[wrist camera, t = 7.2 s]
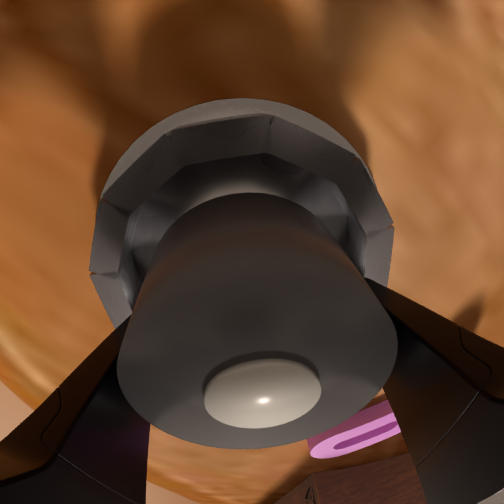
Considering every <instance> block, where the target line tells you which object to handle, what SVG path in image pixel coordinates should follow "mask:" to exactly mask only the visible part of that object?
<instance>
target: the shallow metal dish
mask: <svg viewBox="0 0 504 504" xmlns="http://www.w3.org/2000/svg"><path fill="white" fill-rule="evenodd" d="M245 192H252V193H265V194H271V195H276V196H279V197H282V198H286V199H289V200H291V201H293V202H295V203H297V204H299V205H301V206H303V207H304V208H306V209H307V210H309V211H310V212H312V213H313V214H314V215H315V216H316V217H317V218H318V219H319V220H320V221H321V222H322V223H323V224H324V225H325V227H326V228H327V229H328V230H329V232H330V233H331V234H332V236H333V237H334V238H335V240H336V241H337V242H338V244H339V245H340V246H341V248H342V249H343V250H344V252H345V253H346V255H347V256H348V257H349V259H350V260H351V261H352V263H353V264H354V266H355V267H356V268H357V270H358V271H359V273H360V274H361V276H362V277H363V278H365V277H367V278H369V279H371V280H373V281H375V282H377V283H379V284H381V285H383V286H385V287H387V284H388V277H389V270H390V262H391V254H392V246H393V236H394V227H393V226H392V225H391V224H393V221H392V219H391V217H390V214H389V212H388V210H387V208H386V206H385V204H384V202H383V200H382V198H381V196H380V194H379V193H378V191H377V188H376V185H375V182H374V180H373V178H372V176H371V174H370V171H369V169H368V167H367V166H366V164H365V163H364V161H363V160H362V158H361V157H360V155H359V154H358V152H357V151H356V150H355V149H354V148H353V147H352V145H351V144H350V143H349V142H348V141H347V140H346V139H345V138H344V137H343V136H342V135H341V134H339V133H338V132H337V131H336V130H335V129H333V128H332V127H331V126H330V125H328V124H327V123H325V122H323V121H322V120H320V119H318V118H317V117H315V116H313V115H311V114H310V113H308V112H305V111H303V110H300V109H298V108H295V107H292V106H290V105H287V104H282V103H278V102H274V101H269V100H263V99H249V98H235V99H223V100H215V101H211V102H207V103H203V104H199V105H195V106H192V107H189V108H187V109H184V110H182V111H180V112H177V113H175V114H172V115H171V116H169V117H167V118H166V119H164V120H162V121H161V122H159V123H157V124H156V125H154V126H152V127H151V128H150V129H149V130H148V131H146V132H145V133H144V134H143V135H141V136H140V137H139V138H138V139H137V140H136V141H135V142H134V143H133V144H132V145H131V146H130V147H129V148H128V150H127V151H126V152H125V153H124V154H123V155H122V156H121V158H120V159H119V161H118V162H117V164H116V166H115V167H114V169H113V170H112V172H111V173H110V175H109V178H108V180H107V182H106V184H105V187H104V189H103V191H102V194H101V198H100V202H99V206H98V210H97V217H96V223H95V230H94V236H93V243H92V250H91V258H90V266H89V271H91V274H90V277H91V279H92V282H93V284H94V286H95V288H96V291H97V293H98V295H99V297H100V299H101V301H102V303H103V305H104V308H105V310H106V312H107V314H108V316H109V318H110V320H111V322H112V324H113V326H114V327H115V329H116V328H117V327H118V326H119V325H120V324H121V323H122V322H123V321H124V320H125V319H126V318H128V317H129V316H130V315H131V314H132V312H133V309H134V306H135V303H136V300H137V297H138V295H139V292H140V289H141V286H142V284H143V281H144V278H145V276H146V273H147V271H148V268H149V265H150V263H151V260H152V258H153V255H154V253H155V250H156V248H157V246H158V244H159V242H160V240H161V238H162V237H163V235H164V234H165V233H166V231H167V230H168V229H169V227H170V226H171V225H172V224H173V223H174V222H175V221H176V220H177V219H178V218H179V217H180V216H182V215H183V214H185V213H186V212H187V211H189V210H190V209H192V208H194V207H195V206H197V205H199V204H201V203H203V202H205V201H208V200H211V199H213V198H216V197H220V196H224V195H228V194H234V193H245Z"/></svg>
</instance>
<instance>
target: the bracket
mask: <svg viewBox="0 0 504 504" xmlns="http://www.w3.org/2000/svg"><path fill="white" fill-rule="evenodd" d="M400 432H401V430H400V428H399V425H398V423H397V420H396V418H395V416H394V413H393V411H392V408H391V406H390V404H389V401H388V400H385V401H383V402H381V403H379V404H376V405H374V406H371V407H369V408H367V409H364V410H362V411H359V412H357V413H356V414H354V415H353V416H352V417H350V418H349V419H347V420H346V421H344V422H342V423H341V424H339V425H337V426H335V427H333V428H331V429H329V430H327V431H325V432H323V433H320V434H318V435H316V436H313V437H310V438H308V439H307V442H308V446H309V450H310V454H311V456H312V457H315V458H333V457H338V456H342V455H345V454H348V453H351V452H354V451H356V450H359V449H362V448H364V447H367V446H369V445H372V444H374V443H377V442H379V441H382V440H384V439H386V438H389V437H391V436H393V435H396V434H398V433H400Z"/></svg>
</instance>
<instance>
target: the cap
mask: <svg viewBox="0 0 504 504" xmlns="http://www.w3.org/2000/svg"><path fill="white" fill-rule="evenodd" d="M397 350H398V340H397V333H396V330H395V327H394V325H393V322H392V320H391V318H390V317H389V315H388V314H387V312H386V311H385V309H384V308H383V306H382V305H381V303H380V302H379V300H378V299H377V297H376V296H375V294H374V293H373V291H372V290H371V288H370V287H369V286H368V284H367V283H366V281H365V280H364V278H363V277H362V276H361V274H360V273H359V271H358V270H357V268H356V267H355V266H354V264H353V263H352V261H351V260H350V259H349V257H348V256H347V255H346V253H345V252H344V250H343V249H342V248H341V246H340V245H339V244H338V242H337V241H336V240H335V238H334V237H333V236H332V234H331V233H330V232H329V230H328V229H327V228H326V227H325V225H324V224H323V223H322V222H321V221H320V220H319V219H318V218H317V217H316V216H315V215H314V214H313V213H312V212H310V211H309V210H307V209H306V208H304V207H303V206H301V205H299V204H297V203H295V202H293V201H291V200H289V199H286V198H282V197H279V196H276V195H271V194H265V193H252V192H245V193H234V194H228V195H224V196H220V197H216V198H213V199H211V200H208V201H205V202H203V203H201V204H199V205H197V206H195V207H194V208H192V209H190V210H189V211H187V212H186V213H185V214H183V215H182V216H180V217H179V218H178V219H177V220H176V221H175V222H174V223H173V224H172V225H171V226H170V227H169V229H168V230H167V231H166V233H165V234H164V235H163V237H162V238H161V240H160V242H159V244H158V246H157V248H156V250H155V253H154V255H153V258H152V260H151V263H150V265H149V268H148V271H147V273H146V276H145V278H144V281H143V284H142V286H141V289H140V292H139V295H138V297H137V300H136V303H135V306H134V309H133V312H132V314H131V317H130V320H129V323H128V326H127V329H126V332H125V335H124V339H123V342H122V345H121V348H120V352H119V356H118V360H117V377H118V381H119V385H120V388H121V390H122V392H123V395H124V396H125V398H126V399H127V401H128V402H129V404H130V405H131V406H132V407H133V409H134V410H135V411H136V412H137V413H138V414H139V415H140V416H142V417H143V418H144V419H145V420H146V421H148V422H149V423H151V424H152V425H154V426H155V427H157V428H158V429H160V430H162V431H164V432H166V433H168V434H170V435H172V436H175V437H177V438H179V439H182V440H185V441H189V442H192V443H196V444H200V445H204V446H210V447H216V448H226V449H259V448H268V447H275V446H281V445H286V444H290V443H294V442H298V441H301V440H304V439H307V438H310V437H313V436H316V435H318V434H320V433H323V432H325V431H327V430H329V429H331V428H333V427H335V426H337V425H339V424H341V423H342V422H344V421H346V420H347V419H349V418H350V417H352V416H353V415H354V414H356V413H357V412H359V411H360V410H361V409H362V408H363V407H365V406H366V405H367V404H368V403H369V402H370V401H371V400H372V399H373V398H374V397H375V396H376V395H377V394H378V392H379V391H380V390H381V388H382V387H383V386H384V384H385V383H386V381H387V379H388V378H389V376H390V374H391V372H392V369H393V367H394V365H395V361H396V357H397Z"/></svg>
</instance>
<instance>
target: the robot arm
mask: <svg viewBox="0 0 504 504" xmlns="http://www.w3.org/2000/svg"><path fill="white" fill-rule="evenodd" d="M364 280H365V281H366V283H367V284H368V286H369V287H370V288H371V290H372V291H373V293H374V294H375V296H376V297H377V299H378V300H379V302H380V303H381V305H382V306H383V308H384V309H385V311H386V312H387V314H388V315H389V317H390V318H391V320H392V322H393V325H394V327H395V330H396V333H397V340H398V350H397V357H396V361H395V365H394V367H393V369H392V372H391V374H390V376H389V378H388V379H387V381H386V383H385V384H384V386H383V387H382V388H383V390H384V392H385V394H386V397H387V399H388V401H389V404H390V406H391V408H392V411H393V413H394V416H395V418H396V420H397V423H398V425H399V428H400V430H401V433H402V435H403V438H404V440H405V443H406V445H407V448H408V451H409V453H410V456H411V458H412V461H413V464H414V466H415V467H416V468H415V470H416V472H417V475H418V478H419V481H420V483H421V486H422V489H423V492H424V495H425V498H426V501H427V504H504V347H501V346H499V345H497V344H495V343H493V342H491V341H488V340H486V339H484V338H482V337H480V336H478V335H476V334H474V333H473V332H471V331H469V330H467V329H465V328H463V327H461V326H459V327H458V325H457V324H456V323H454V322H452V321H450V320H448V319H446V318H445V317H443V316H441V315H439V314H437V313H435V312H433V311H431V310H429V309H428V308H426V307H424V306H422V305H420V304H418V303H416V302H414V301H412V300H410V299H408V298H406V297H405V296H403V295H401V294H399V293H397V292H395V291H393V290H391V289H389V288H387V287H385V286H383V285H381V284H379V283H377V282H375V281H373V280H371V279H369V278H367V277H365V278H364ZM130 317H131V315H130V316H129V317H128V318H126V319H125V320H124V321H123V322H122V323H121V324H120V325H119V326H118V327H117V328H116V329H115V330H114V331H113V332H112V333H111V334H110V335H109V336H108V337H107V338H106V339H105V340H104V341H103V342H102V343H101V344H100V345H99V346H98V347H97V348H96V349H95V350H94V351H93V352H92V353H91V354H90V355H89V356H88V357H87V358H86V359H85V360H84V361H83V362H82V363H81V364H80V365H79V366H78V367H77V368H76V369H75V370H74V371H73V372H72V373H71V374H70V375H69V376H68V377H67V378H66V379H65V380H64V381H63V382H62V383H61V384H60V386H59V387H58V388H57V389H56V390H55V391H54V392H53V393H52V394H51V395H50V396H49V397H48V398H47V399H46V400H45V401H44V402H43V403H42V404H41V405H40V406H39V407H38V408H37V409H36V410H35V411H34V412H33V413H32V414H31V415H29V417H27V418H26V419H25V420H24V421H23V422H22V423H21V424H20V425H18V426H17V427H16V428H15V429H14V430H13V431H12V432H11V433H10V434H9V435H8V436H7V437H5V438H4V439H3V440H2V441H0V504H146V477H147V459H148V445H149V432H150V423H149V422H148V421H146V420H145V419H144V418H143V417H142V416H140V415H139V414H138V413H137V412H136V411H135V410H134V409H133V407H132V406H131V405H130V404H129V402H128V401H127V399H126V398H125V396H124V395H123V392H122V390H121V388H120V385H119V381H118V377H117V360H118V356H119V352H120V348H121V345H122V342H123V339H124V335H125V332H126V329H127V326H128V323H129V320H130Z"/></svg>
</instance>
